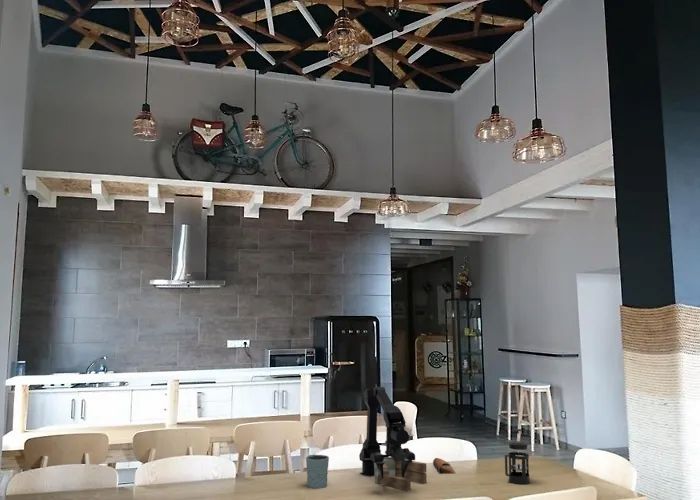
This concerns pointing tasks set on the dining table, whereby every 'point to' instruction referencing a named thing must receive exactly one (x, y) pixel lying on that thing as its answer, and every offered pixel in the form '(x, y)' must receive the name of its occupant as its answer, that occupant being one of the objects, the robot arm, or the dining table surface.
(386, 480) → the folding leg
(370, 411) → the robot arm
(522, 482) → the french press
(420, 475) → the brown wooden crate
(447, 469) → the sunglasses case
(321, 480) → the grey-green cup
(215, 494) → the dining table surface
